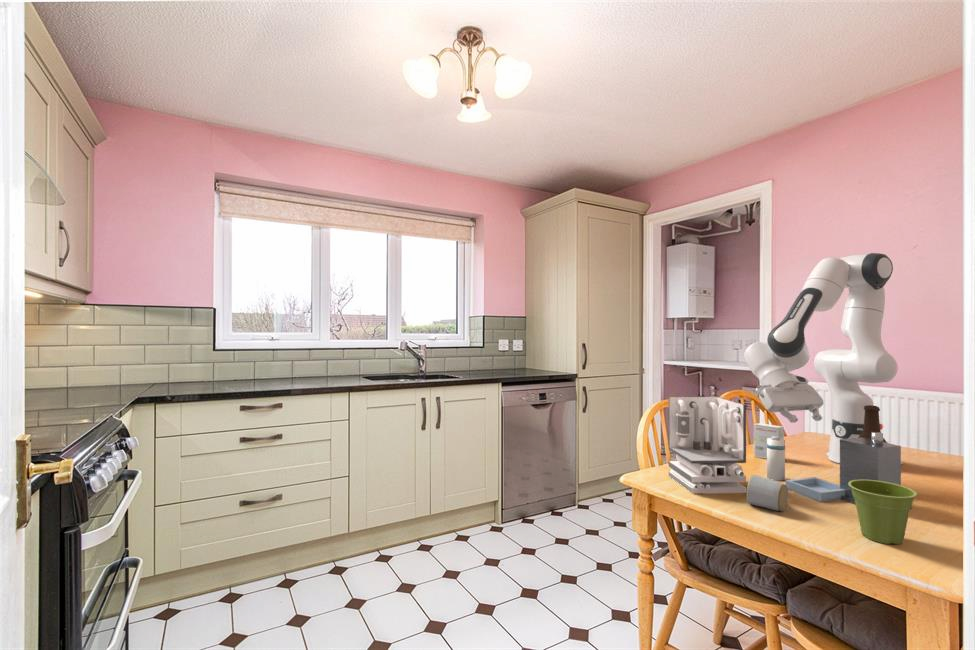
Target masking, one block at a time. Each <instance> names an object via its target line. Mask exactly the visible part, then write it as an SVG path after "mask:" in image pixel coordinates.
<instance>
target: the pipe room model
mask: <svg viewBox="0 0 975 650" xmlns="http://www.w3.org/2000/svg"><path fill="white" fill-rule="evenodd" d="M668 451H671V452H672V453H674V454H676V456H675V457H676V460H674V461H673V460H669V461H668V467H669V468H670V471H668V477H669V476H670V477H671V478H670V477H669V478H670V479H672V478H673V479H674V480H675V482H676V481H677V482H678V483H679V484H678V483H677V482H676V483H677V484H678V485H680V484H681V485H682V486H683V487H685V488H686V489H687V490H689V491H690V492H691V493H703V494H747V487H746V486H744V485H743V484H740V483H746V482H747V476H746V475H745V473H744V470H743V468H742V465H740V464H746V463H747V404H745V403H741V402H738V401H734V400H731V399H726V398H724V397H721V396H668ZM673 479H672V480H673ZM674 480H673V481H674ZM681 485H680V486H681ZM682 486H681V487H682ZM683 487H682V488H683ZM685 488H684V489H685ZM686 489H685V490H686ZM687 490H686V491H687ZM689 491H688V492H689ZM690 492H689V493H690ZM691 493H690V494H691Z"/></svg>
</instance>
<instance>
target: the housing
mask: <svg viewBox="0 0 975 650" xmlns="http://www.w3.org/2000/svg"><path fill="white" fill-rule="evenodd" d="M883 438H884V433H883V432H881V433H880V432H871V439H866V438H862V437H861V438H849V439H840V463H839V485H840V489H844V490H845V496H841V500H840V501H843V502H846V503H850V504H852V505H854V506H856V503H855V498H854V497H853V493H852V489H851V487H850V486H849V485H848V482H849V481H852V480H877V481H883V482H889V483H893V484H897V485H901V486H902V482H901V481H902V477H901V476H902V473H901V472H902V466H901V465H902V464H901V461H902V459H901V458H902V456H901V455H902V447H901V445H899V444H894V443H890V442H888V443H885V442H883ZM910 510H912V506H911V507H910Z"/></svg>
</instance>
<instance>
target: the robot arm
mask: <svg viewBox="0 0 975 650" xmlns="http://www.w3.org/2000/svg"><path fill="white" fill-rule="evenodd" d="M893 270H894V266H893V261H892V260H891V259H890V257H889V256H888V255H886V254H884V253H878V252H877V253H876V252H871V253H861V254H860V253H859V254H852V255H847V256H843V257H835V256H834V257H825V258H823V259H821V260H820V261H819V262H818V263H817V264H816V265H815V267H814V268H813V269H812V270H811V272H810V274H809V275H808V276H807V278H806V280H805V282H804V284H803V286H802V288H801V290H800V293H799V294H798V296H797V297H796V299H795V300H794V301H793V303H792V304H791V306H790V308H789V310H788V312H787V313H786V314H785V316H784V318H783V319H782V320H781V322H780V323H778V324H777V325H776V326H775V327H773V328H772V329H771V330H770V331H769V333H768V335H767V342H761V341H755V342H753V343H751V344H750V345H749V346H748V347H746V349H745V351H744V353H743V360H745V363H746V365H747V366H748V368H749V370H750V371H751V373H752V374H753V375H754V377H756V378H758V381H759V383H760V385H757V387H756V389H755V392H756V393H757V394H758V396H759V400H760V402H761V404H762V405H763V406H764V408H765V409H766V411H768V412H769V413H779V414H780V415H782V417H785V418H786V419H787V420H788V421H789V422H790V423H791V424H792V423H793V424H794V423H797V422H798V421H799V418H798V417H797V416H796V414H793V413H791V412H797V411H798V412H799V411H809V412H810V413H812V416H811V418H812V419H813V420H814V421H815V422H820V421H822V420H823V417H822V415H821V414H820V410H819V409H820V408H821V407H822V406H823V405H824V399H823V398H822V396H821V395H820V394H819V392H818V391H817V390H816V388H814V387H813V386H812V385H810V384H809V380H808V379H807V378H806V376H805V377H804V376H800V375H796V374H793V373H791V372H793V371H796V370H798V369H800V368H802V367H805V365H806V364H808V362H809V360H810V352H809V348H808V346H807V343H806V339H805V329H806V327H807V326H808V323H809V322H810V320H811V319H812V317H813V315H814V313H815V312H819V313H820V312H827V311H830V310H832V309H833V308H834V307H835V305H836V304H837V303H838V302H839V300H840V298H841V296H842V294H843V293H844V290H845V289H846V288H847V289H848V295H847V298H846V301H845V304H844V309H843V313H842V320H841V324H840V331H841V334H842V335H844V336H845V337H846V338H848V339H849V340H850V341H851V348H850V349H847V348H846V349H845V348H844V349H843V348H832V349H826V350H821V351H819V352H818V353H817V354H816V355H815V357H814V361H813V366H814V369H815V372H816V373H817V374H818V375H820V376H821V378H822V379H823V380H824V381H825V383H826V384H827V386H828V389H829V390H830V393H831V397H832V405H833V406H832V407H833V409H832V410H833V419H831V421H832V422H831V429H832V430H833V431H832V432H831V433H830V437H829V446H828V451H826V454H825V455H826V456H827V458H828V460H829V461H831V462H834V463H837V464H840V439H849V438H858V437H859V436H860V435H861V434H862V432H863V428H864V415H865V410H864V406H866V405H873V406H874V401H873V399H872V398H871V397H870V396H869V395H868V394H867V393H865V392H864V391H863V390H862V389H861V387H860V385H859V383H867V384H883V383H889V382H892V380H894V378H895V377H896V375H897V374H898V369H899V367H898V363H897V361H896V359H895V358H894V356H893V355H891V353H889V352H888V350H886V349H885V346H884V344H883V342H882V341H883V340H882V336H881V335H882V324H883V318H884V312H885V302H886V293H885V287H884V286H886V284H887V282H888V281H889V280H890V278H891V277H892V273H893V272H894V271H893ZM883 428H884V425H883V423H880V431H882V430H883ZM886 442H887V443H889V442H888V441H887V440H886ZM903 464H904V463H903V461H902V460H901V465H903Z"/></svg>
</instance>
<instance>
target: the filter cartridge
mask: <svg viewBox="0 0 975 650" xmlns="http://www.w3.org/2000/svg"><path fill="white" fill-rule="evenodd" d="M766 478H767V479H768V478H769V479H770V480H771V479H773V480H774V481H776V480H784V481H786V439H784V440H783V439H780V437H777V436H772V437H771V438H767V459H766Z"/></svg>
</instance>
